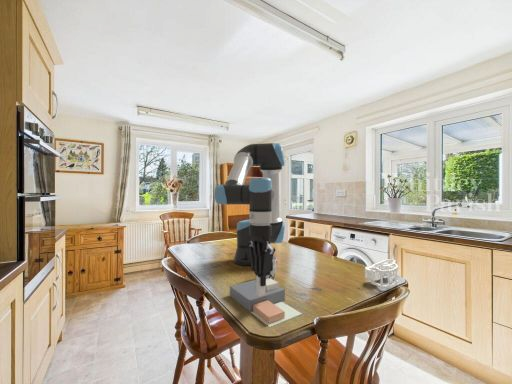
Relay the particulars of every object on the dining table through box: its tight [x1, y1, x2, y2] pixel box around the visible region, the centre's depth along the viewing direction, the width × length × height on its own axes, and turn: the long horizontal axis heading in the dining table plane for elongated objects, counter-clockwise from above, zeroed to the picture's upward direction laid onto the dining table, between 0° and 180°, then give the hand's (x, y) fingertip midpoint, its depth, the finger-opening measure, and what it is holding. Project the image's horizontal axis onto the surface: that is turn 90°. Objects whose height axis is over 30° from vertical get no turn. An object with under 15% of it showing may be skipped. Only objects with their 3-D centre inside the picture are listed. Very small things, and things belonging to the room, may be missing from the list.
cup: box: [266, 255, 278, 281], centre depth 104 cm, size 8×8×10 cm
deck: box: [229, 279, 286, 313], centre depth 87 cm, size 14×15×4 cm
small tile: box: [265, 278, 279, 291], centre depth 87 cm, size 5×5×2 cm
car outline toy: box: [364, 258, 399, 290], centre depth 104 cm, size 20×11×7 cm, turn 127°
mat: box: [250, 301, 303, 328], centre depth 76 cm, size 10×13×1 cm
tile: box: [252, 300, 285, 324], centre depth 75 cm, size 9×6×2 cm, turn 32°
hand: (260, 294), depth 79 cm, fingers closed
